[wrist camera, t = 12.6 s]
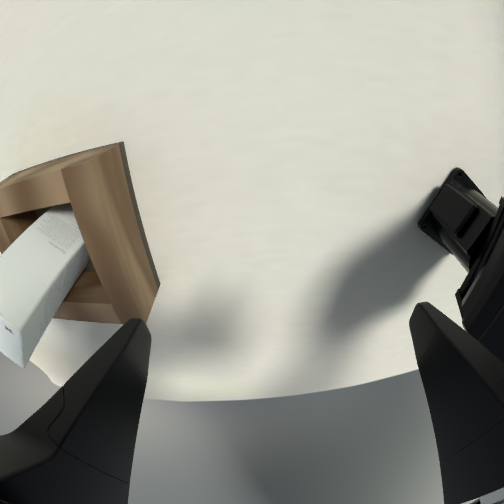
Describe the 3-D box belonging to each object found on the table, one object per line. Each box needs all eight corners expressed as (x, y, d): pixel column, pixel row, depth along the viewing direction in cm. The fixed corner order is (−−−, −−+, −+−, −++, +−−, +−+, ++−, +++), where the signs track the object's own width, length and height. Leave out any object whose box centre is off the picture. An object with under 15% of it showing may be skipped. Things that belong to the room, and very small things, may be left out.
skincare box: (65, 192, 19) (-32, 288, 9) (105, 218, 20) (21, 332, 10) (52, 243, 21) (-19, 338, 11) (87, 266, 23) (26, 371, 13)
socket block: (123, 141, 17) (88, 162, 13) (160, 284, 25) (145, 324, 21) (13, 173, 18) (-22, 197, 14) (57, 284, 25) (36, 315, 21)
